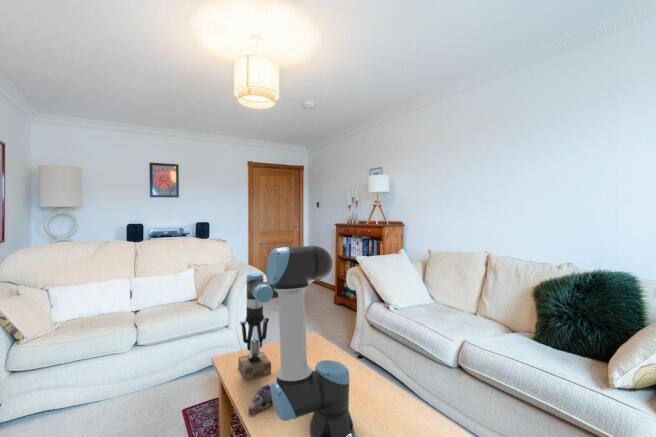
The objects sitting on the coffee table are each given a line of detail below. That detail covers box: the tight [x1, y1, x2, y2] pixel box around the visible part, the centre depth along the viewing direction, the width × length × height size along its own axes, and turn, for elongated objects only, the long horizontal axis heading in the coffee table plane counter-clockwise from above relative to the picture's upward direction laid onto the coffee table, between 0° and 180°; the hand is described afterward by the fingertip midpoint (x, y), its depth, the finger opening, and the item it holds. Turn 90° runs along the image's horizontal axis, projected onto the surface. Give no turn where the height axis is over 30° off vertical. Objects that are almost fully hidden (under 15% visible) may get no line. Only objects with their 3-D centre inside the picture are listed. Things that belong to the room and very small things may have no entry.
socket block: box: [237, 351, 272, 381], centre depth 144 cm, size 12×12×5 cm
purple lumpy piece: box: [247, 384, 273, 414], centre depth 119 cm, size 12×8×6 cm, turn 143°
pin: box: [251, 339, 259, 363], centre depth 144 cm, size 3×3×10 cm
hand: (254, 355), depth 144 cm, fingers closed on pin, 3 cm apart
